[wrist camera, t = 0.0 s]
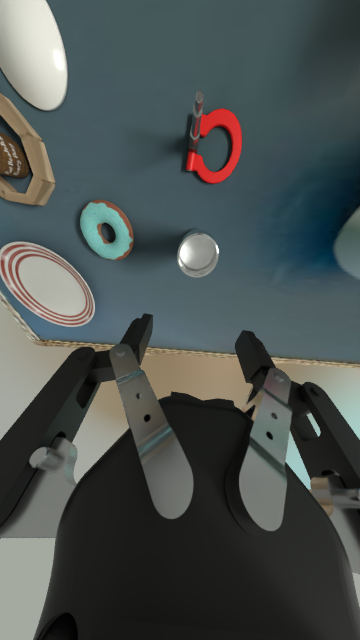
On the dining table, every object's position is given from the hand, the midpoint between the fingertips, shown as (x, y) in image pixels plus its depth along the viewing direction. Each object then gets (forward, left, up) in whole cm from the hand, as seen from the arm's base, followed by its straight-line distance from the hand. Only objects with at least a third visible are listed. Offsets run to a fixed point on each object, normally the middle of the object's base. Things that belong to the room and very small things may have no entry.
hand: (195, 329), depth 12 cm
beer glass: (-3, 0, -30) cm, 30 cm away
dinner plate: (+17, -42, -30) cm, 54 cm away
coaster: (-24, -30, -29) cm, 48 cm away
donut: (-2, -21, -30) cm, 37 cm away
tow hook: (-18, 0, -30) cm, 35 cm away
